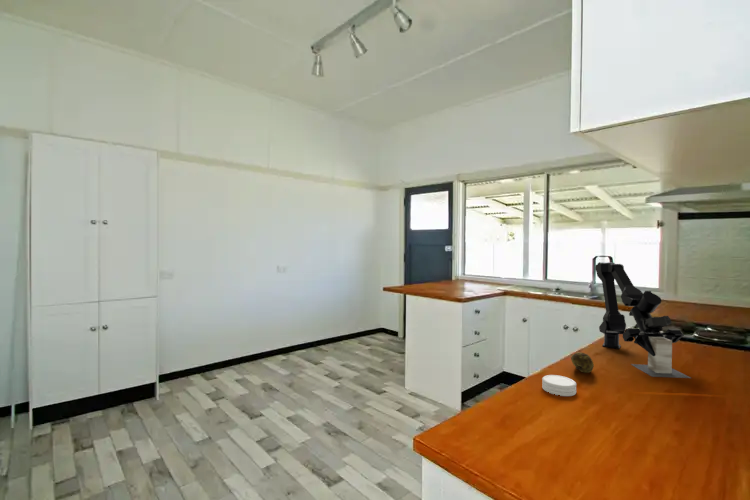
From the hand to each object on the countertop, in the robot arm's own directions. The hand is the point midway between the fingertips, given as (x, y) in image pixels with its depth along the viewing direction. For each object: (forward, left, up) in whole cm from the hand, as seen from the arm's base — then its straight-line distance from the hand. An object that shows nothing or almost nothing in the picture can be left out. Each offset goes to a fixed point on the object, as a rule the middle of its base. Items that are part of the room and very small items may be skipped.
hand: (662, 355), depth 132 cm
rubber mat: (-1, -1, -7) cm, 7 cm away
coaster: (+40, -26, -7) cm, 48 cm away
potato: (+17, -23, -7) cm, 29 cm away
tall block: (-1, -1, -6) cm, 6 cm away
